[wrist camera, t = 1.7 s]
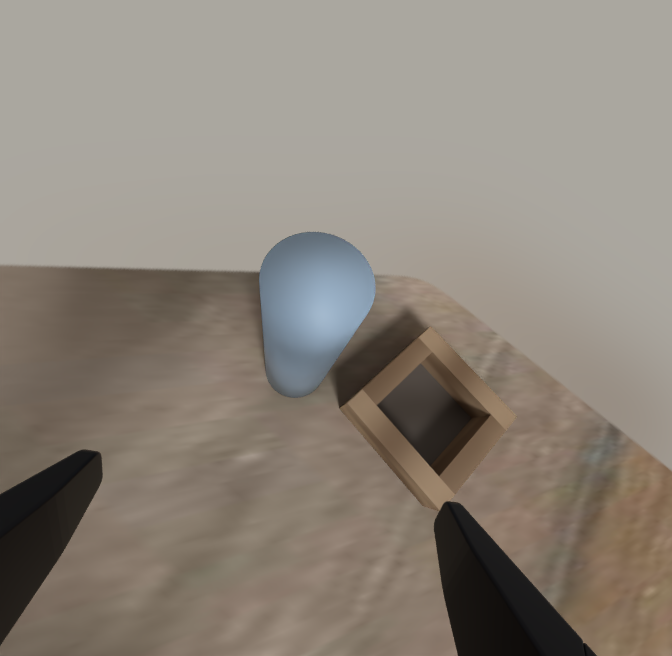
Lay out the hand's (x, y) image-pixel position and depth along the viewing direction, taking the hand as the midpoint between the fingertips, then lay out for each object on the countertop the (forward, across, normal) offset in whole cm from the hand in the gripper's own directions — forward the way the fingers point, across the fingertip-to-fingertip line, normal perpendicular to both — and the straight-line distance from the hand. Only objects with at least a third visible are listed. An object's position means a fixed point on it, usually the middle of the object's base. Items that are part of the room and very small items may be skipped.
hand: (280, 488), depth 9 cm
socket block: (+12, -9, +6) cm, 16 cm away
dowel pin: (+14, 0, +4) cm, 14 cm away
